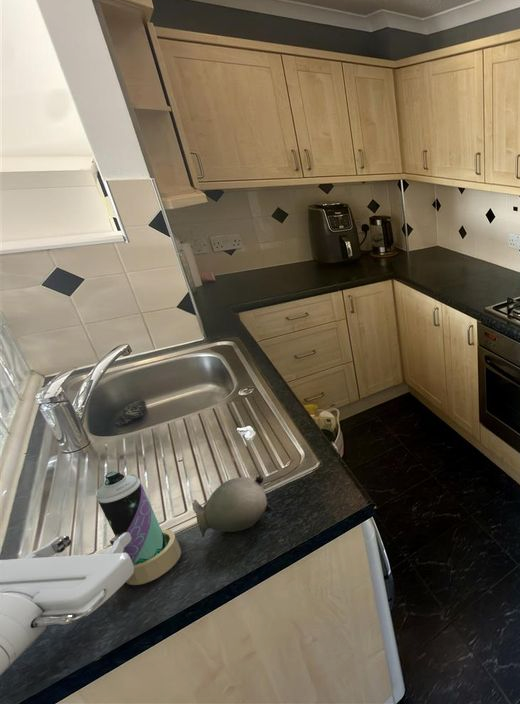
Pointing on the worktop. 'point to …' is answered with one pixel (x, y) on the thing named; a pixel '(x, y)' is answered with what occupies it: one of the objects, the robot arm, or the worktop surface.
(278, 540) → the worktop surface
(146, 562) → the beige base ring
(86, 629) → the worktop surface
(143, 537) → the spray can
